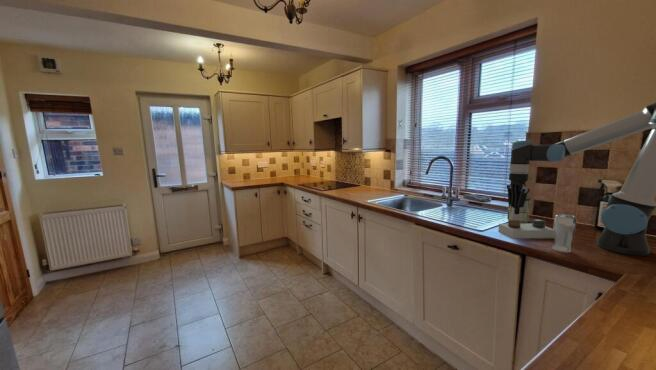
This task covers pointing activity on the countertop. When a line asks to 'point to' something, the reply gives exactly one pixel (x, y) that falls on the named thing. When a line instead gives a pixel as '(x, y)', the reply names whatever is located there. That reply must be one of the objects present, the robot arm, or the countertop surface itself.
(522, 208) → the coffee can
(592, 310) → the countertop surface
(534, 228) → the knob mount
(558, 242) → the beer glass
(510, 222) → the knob walnut
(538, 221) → the knob black
